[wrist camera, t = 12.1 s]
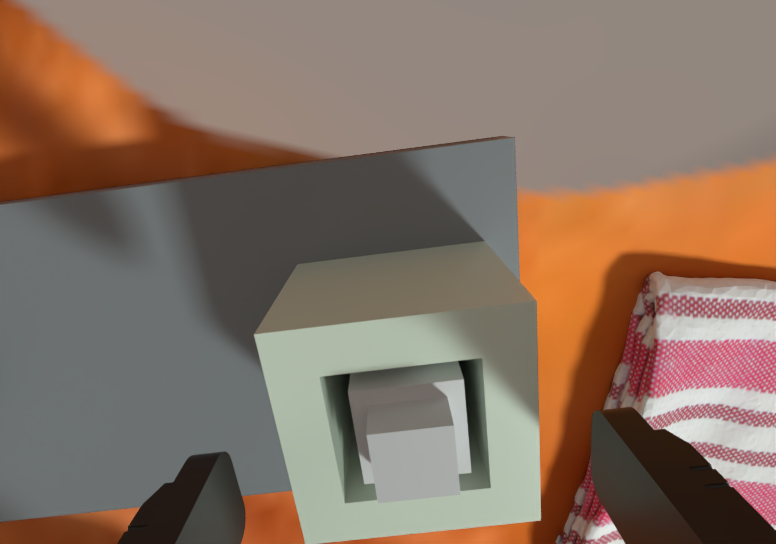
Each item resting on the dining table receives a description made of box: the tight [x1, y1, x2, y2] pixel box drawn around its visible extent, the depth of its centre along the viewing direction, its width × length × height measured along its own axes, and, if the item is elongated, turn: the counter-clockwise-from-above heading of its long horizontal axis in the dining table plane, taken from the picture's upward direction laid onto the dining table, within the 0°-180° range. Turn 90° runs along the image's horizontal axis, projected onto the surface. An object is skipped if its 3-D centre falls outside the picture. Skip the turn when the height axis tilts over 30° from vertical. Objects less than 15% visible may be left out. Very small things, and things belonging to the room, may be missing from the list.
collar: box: [254, 241, 541, 544], centre depth 13 cm, size 6×6×5 cm
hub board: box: [0, 136, 520, 522], centre depth 13 cm, size 24×12×8 cm, turn 97°
